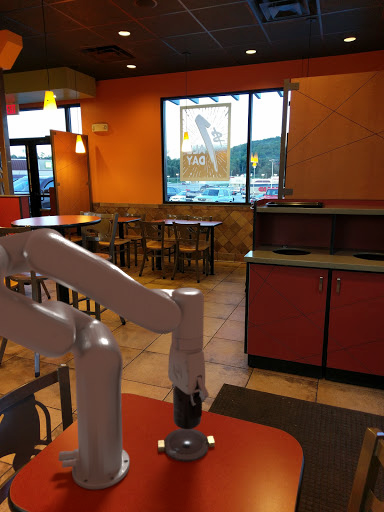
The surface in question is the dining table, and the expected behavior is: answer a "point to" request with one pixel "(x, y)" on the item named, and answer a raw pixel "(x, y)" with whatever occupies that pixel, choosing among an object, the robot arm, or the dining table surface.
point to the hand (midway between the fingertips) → (187, 409)
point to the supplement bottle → (183, 410)
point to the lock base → (186, 445)
